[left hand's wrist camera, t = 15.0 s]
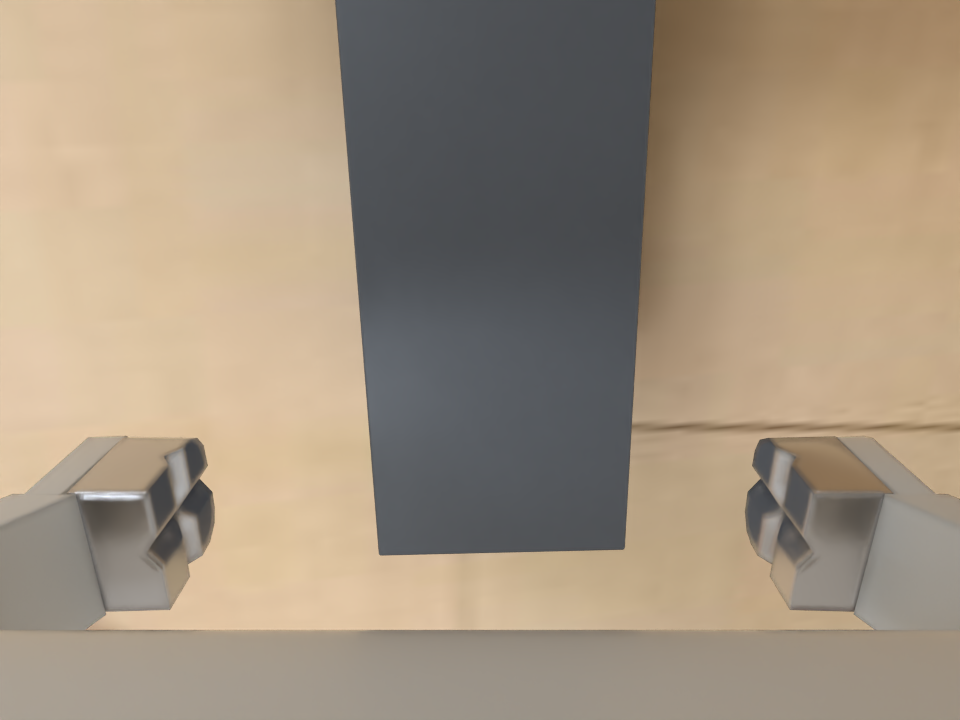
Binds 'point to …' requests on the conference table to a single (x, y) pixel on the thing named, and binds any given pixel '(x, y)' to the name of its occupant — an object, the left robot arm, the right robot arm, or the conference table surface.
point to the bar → (498, 264)
